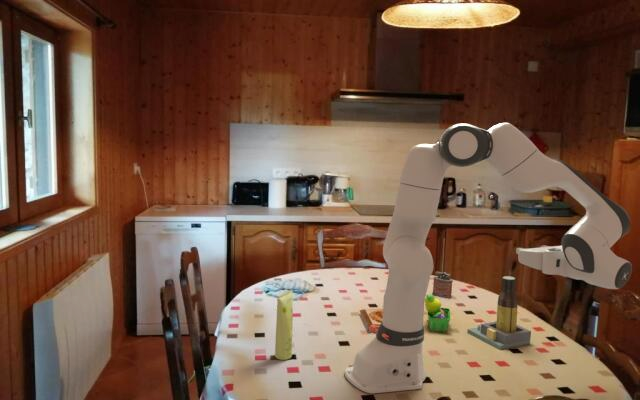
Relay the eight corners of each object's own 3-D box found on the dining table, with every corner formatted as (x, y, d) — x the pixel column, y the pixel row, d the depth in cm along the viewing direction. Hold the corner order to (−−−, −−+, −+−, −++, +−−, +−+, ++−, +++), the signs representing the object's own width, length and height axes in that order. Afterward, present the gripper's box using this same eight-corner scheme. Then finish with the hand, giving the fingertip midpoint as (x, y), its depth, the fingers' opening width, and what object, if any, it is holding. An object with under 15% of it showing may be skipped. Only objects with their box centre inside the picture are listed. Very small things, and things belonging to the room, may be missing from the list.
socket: (502, 345, 168) (502, 336, 168) (477, 332, 178) (478, 324, 178) (530, 340, 174) (531, 331, 173) (505, 328, 183) (505, 319, 183)
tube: (293, 360, 155) (295, 295, 152) (276, 361, 153) (278, 296, 151) (290, 352, 160) (292, 289, 157) (273, 353, 159) (275, 290, 156)
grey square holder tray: (499, 349, 168) (500, 339, 168) (467, 332, 181) (468, 323, 181) (530, 343, 174) (530, 334, 173) (496, 327, 187) (497, 318, 187)
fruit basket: (449, 333, 180) (452, 301, 178) (423, 331, 181) (425, 298, 180) (448, 322, 191) (450, 291, 189) (423, 319, 193) (425, 289, 191)
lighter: (452, 297, 220) (454, 273, 219) (449, 299, 217) (451, 275, 216) (433, 293, 224) (435, 270, 223) (431, 295, 221) (432, 271, 220)
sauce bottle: (510, 332, 179) (516, 275, 177) (518, 340, 173) (524, 280, 170) (492, 332, 179) (496, 274, 176) (499, 339, 173) (504, 280, 170)
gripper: (597, 246, 149) (555, 236, 161) (544, 251, 140) (505, 240, 152) (594, 268, 150) (553, 257, 162) (542, 275, 141) (503, 262, 153)
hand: (529, 249), depth 157 cm, fingers open, 8 cm apart
